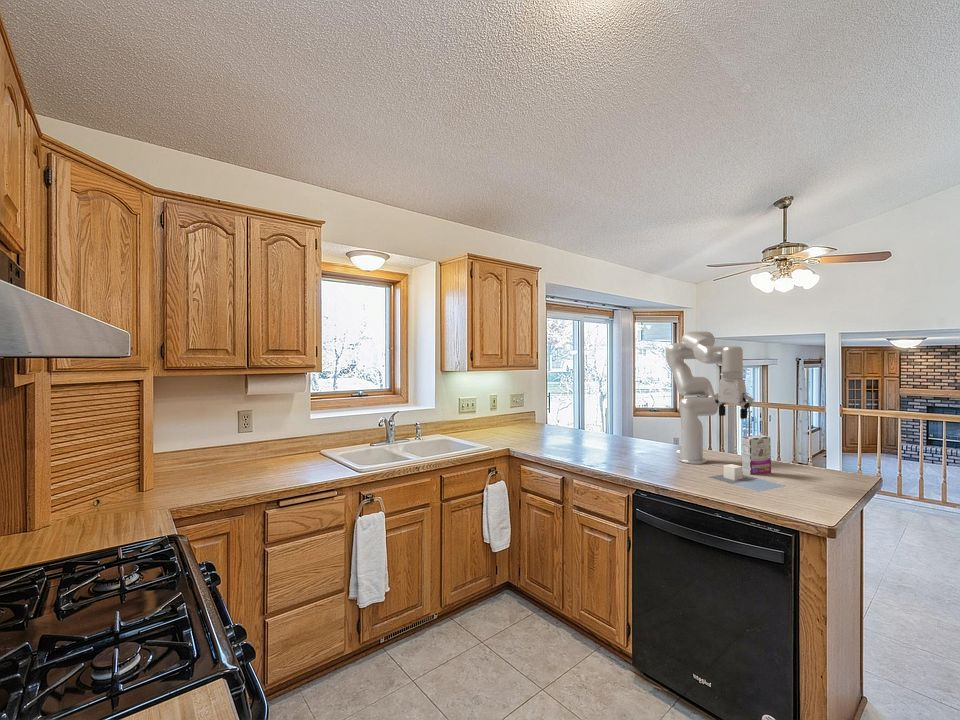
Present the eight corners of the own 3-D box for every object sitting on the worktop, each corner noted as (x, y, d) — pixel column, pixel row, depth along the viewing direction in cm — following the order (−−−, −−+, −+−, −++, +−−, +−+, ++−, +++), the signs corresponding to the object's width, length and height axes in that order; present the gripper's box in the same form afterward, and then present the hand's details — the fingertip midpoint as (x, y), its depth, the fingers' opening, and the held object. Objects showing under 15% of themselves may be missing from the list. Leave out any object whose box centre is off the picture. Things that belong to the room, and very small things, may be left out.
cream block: (723, 477, 190) (723, 465, 190) (731, 475, 192) (731, 464, 192) (734, 480, 185) (734, 468, 185) (742, 478, 188) (742, 466, 187)
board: (708, 479, 190) (708, 477, 190) (733, 474, 197) (733, 472, 197) (759, 493, 170) (759, 491, 170) (785, 487, 177) (785, 485, 177)
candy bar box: (761, 471, 201) (761, 434, 201) (771, 474, 196) (771, 436, 196) (741, 473, 198) (740, 436, 198) (750, 476, 193) (750, 438, 193)
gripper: (708, 375, 194) (708, 415, 195) (746, 377, 179) (746, 420, 179) (720, 375, 198) (720, 414, 198) (758, 376, 182) (758, 419, 182)
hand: (732, 417), depth 188 cm, fingers open, 9 cm apart
